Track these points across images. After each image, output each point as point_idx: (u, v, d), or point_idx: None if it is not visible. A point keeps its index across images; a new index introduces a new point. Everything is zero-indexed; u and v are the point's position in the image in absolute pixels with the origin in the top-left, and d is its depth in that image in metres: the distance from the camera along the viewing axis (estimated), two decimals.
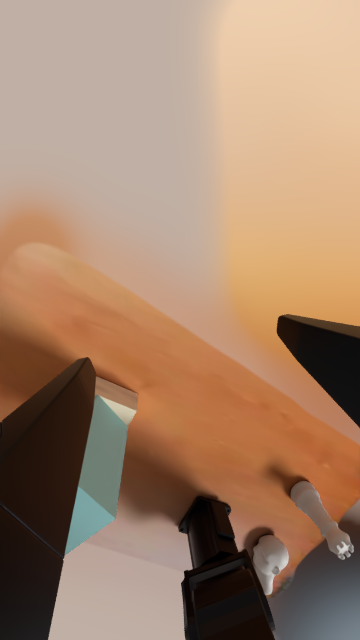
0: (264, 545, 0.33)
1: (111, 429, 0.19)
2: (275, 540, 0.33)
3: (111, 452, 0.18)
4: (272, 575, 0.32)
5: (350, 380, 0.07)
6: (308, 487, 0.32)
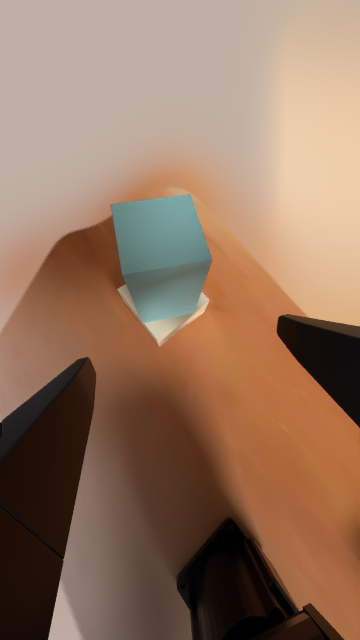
0: None
1: None
2: None
3: None
4: None
5: (350, 380, 0.07)
6: None
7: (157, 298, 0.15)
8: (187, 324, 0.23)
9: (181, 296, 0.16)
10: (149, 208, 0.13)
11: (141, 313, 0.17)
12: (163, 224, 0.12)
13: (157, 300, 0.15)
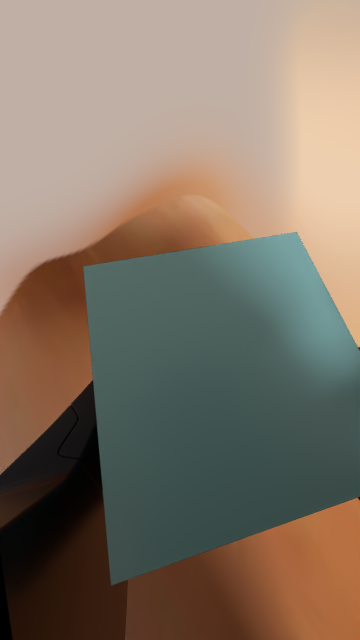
0: None
1: None
2: None
3: None
4: None
5: None
6: None
7: None
8: None
9: None
10: (193, 279, 0.04)
11: None
12: (241, 330, 0.04)
13: None
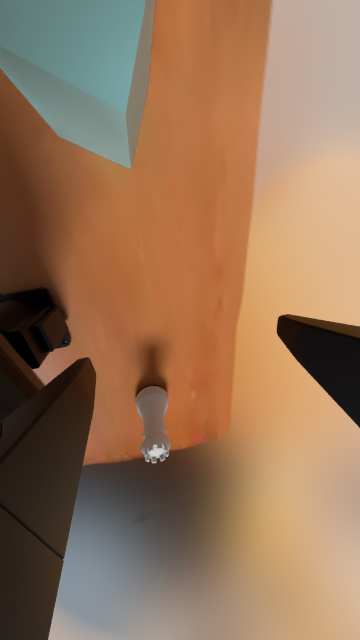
0: None
1: (138, 119, 0.13)
2: None
3: (135, 115, 0.12)
4: None
5: (350, 380, 0.07)
6: (164, 395, 0.26)
7: (63, 115, 0.11)
8: None
9: (102, 137, 0.12)
10: None
11: (47, 120, 0.12)
12: None
13: (64, 118, 0.11)
